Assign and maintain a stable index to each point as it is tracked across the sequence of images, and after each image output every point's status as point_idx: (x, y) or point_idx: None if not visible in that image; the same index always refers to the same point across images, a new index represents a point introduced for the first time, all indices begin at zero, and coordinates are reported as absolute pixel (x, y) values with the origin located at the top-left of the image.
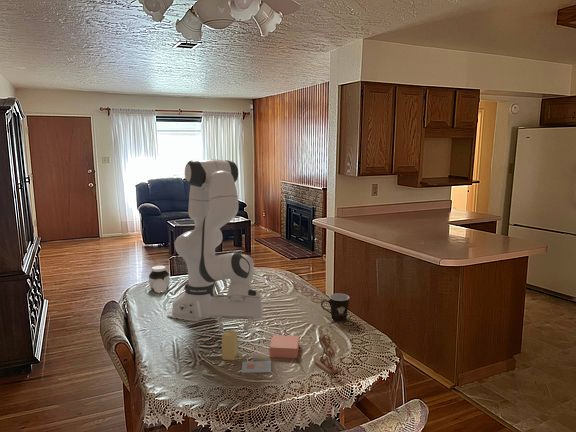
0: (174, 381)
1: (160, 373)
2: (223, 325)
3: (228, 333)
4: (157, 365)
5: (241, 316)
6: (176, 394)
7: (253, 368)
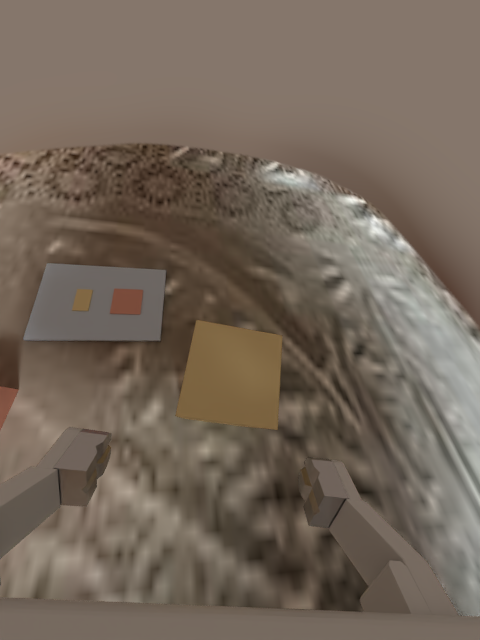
0: (355, 253)
1: (411, 293)
2: (313, 508)
3: (242, 372)
4: (446, 337)
5: (76, 603)
6: (326, 205)
7: (117, 287)
